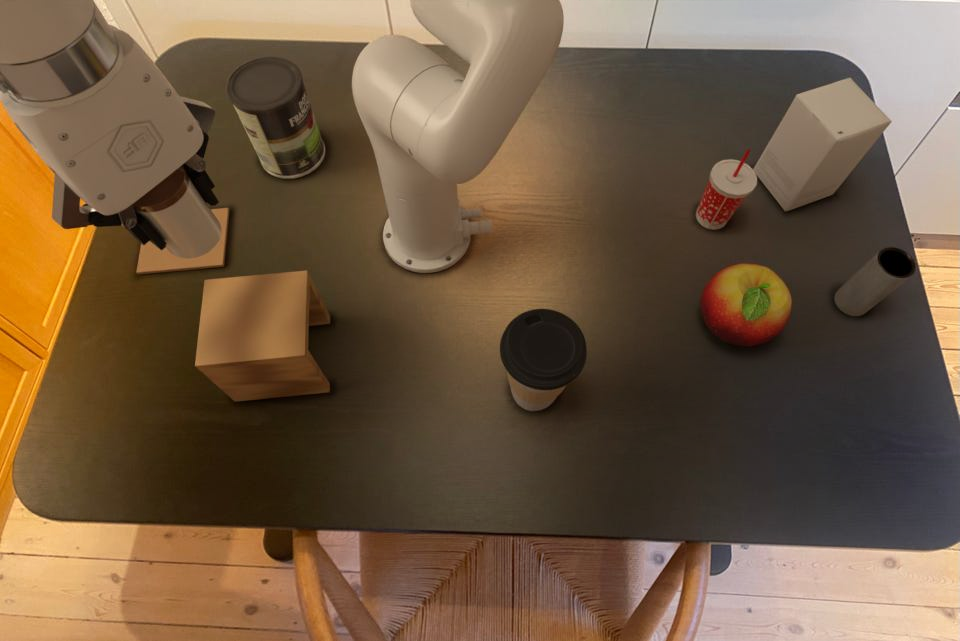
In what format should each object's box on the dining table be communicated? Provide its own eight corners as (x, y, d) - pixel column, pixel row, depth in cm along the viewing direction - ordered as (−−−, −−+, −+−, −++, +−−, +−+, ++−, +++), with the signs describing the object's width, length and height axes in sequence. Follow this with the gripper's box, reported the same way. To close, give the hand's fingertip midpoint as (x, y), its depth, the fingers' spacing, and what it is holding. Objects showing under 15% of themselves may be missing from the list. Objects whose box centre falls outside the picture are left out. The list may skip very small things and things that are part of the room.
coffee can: (334, 134, 97) (312, 60, 84) (313, 184, 92) (286, 114, 80) (273, 124, 98) (242, 50, 85) (249, 173, 93) (213, 103, 81)
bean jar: (224, 209, 58) (187, 151, 51) (220, 256, 56) (181, 202, 49) (167, 215, 58) (122, 157, 51) (161, 262, 55) (113, 210, 48)
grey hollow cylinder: (872, 298, 83) (921, 257, 74) (861, 322, 81) (910, 284, 72) (840, 282, 84) (884, 240, 75) (828, 306, 82) (872, 266, 73)
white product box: (835, 195, 91) (896, 121, 77) (784, 213, 89) (837, 141, 76) (799, 152, 95) (851, 74, 81) (750, 169, 93) (795, 92, 80)
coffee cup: (527, 342, 80) (536, 286, 67) (585, 385, 77) (607, 335, 64) (482, 395, 77) (482, 347, 64) (541, 441, 74) (554, 401, 61)
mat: (229, 209, 90) (228, 207, 90) (224, 266, 86) (222, 264, 85) (148, 217, 90) (146, 214, 89) (138, 274, 85) (136, 272, 85)
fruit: (783, 307, 82) (819, 269, 73) (756, 371, 78) (792, 339, 69) (708, 273, 85) (735, 232, 76) (679, 333, 81) (703, 297, 72)
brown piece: (330, 316, 82) (307, 270, 71) (329, 392, 77) (305, 355, 66) (241, 324, 82) (204, 279, 71) (234, 401, 77) (194, 366, 66)
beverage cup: (737, 208, 90) (778, 141, 77) (726, 239, 87) (767, 175, 75) (696, 194, 91) (731, 126, 78) (685, 225, 89) (718, 159, 76)
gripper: (-41, 159, 34) (129, 307, 50) (194, 0, 40) (279, 178, 56) (-109, 99, 36) (75, 260, 52) (124, -44, 42) (225, 141, 58)
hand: (179, 217), depth 54 cm, fingers closed on bean jar, 5 cm apart
